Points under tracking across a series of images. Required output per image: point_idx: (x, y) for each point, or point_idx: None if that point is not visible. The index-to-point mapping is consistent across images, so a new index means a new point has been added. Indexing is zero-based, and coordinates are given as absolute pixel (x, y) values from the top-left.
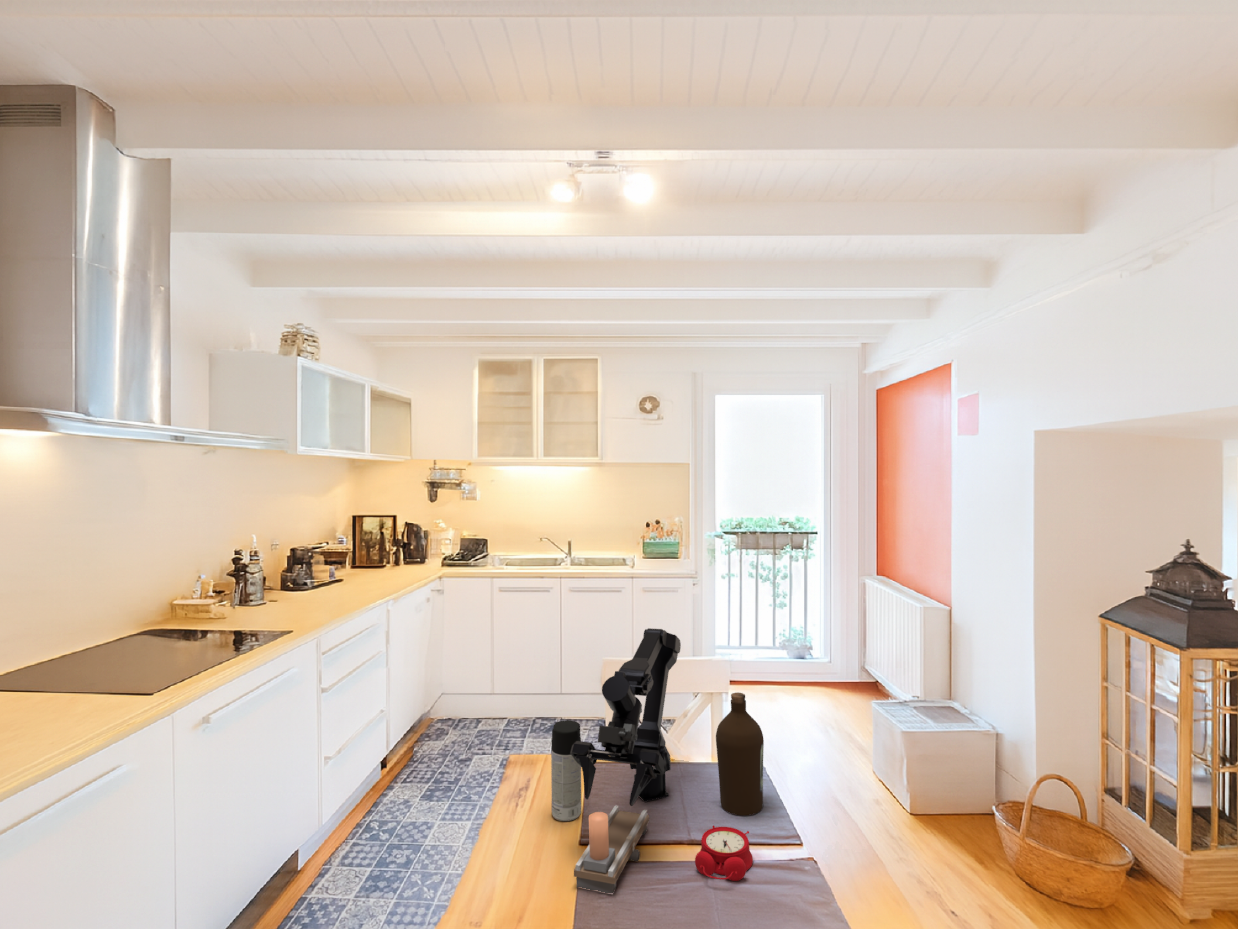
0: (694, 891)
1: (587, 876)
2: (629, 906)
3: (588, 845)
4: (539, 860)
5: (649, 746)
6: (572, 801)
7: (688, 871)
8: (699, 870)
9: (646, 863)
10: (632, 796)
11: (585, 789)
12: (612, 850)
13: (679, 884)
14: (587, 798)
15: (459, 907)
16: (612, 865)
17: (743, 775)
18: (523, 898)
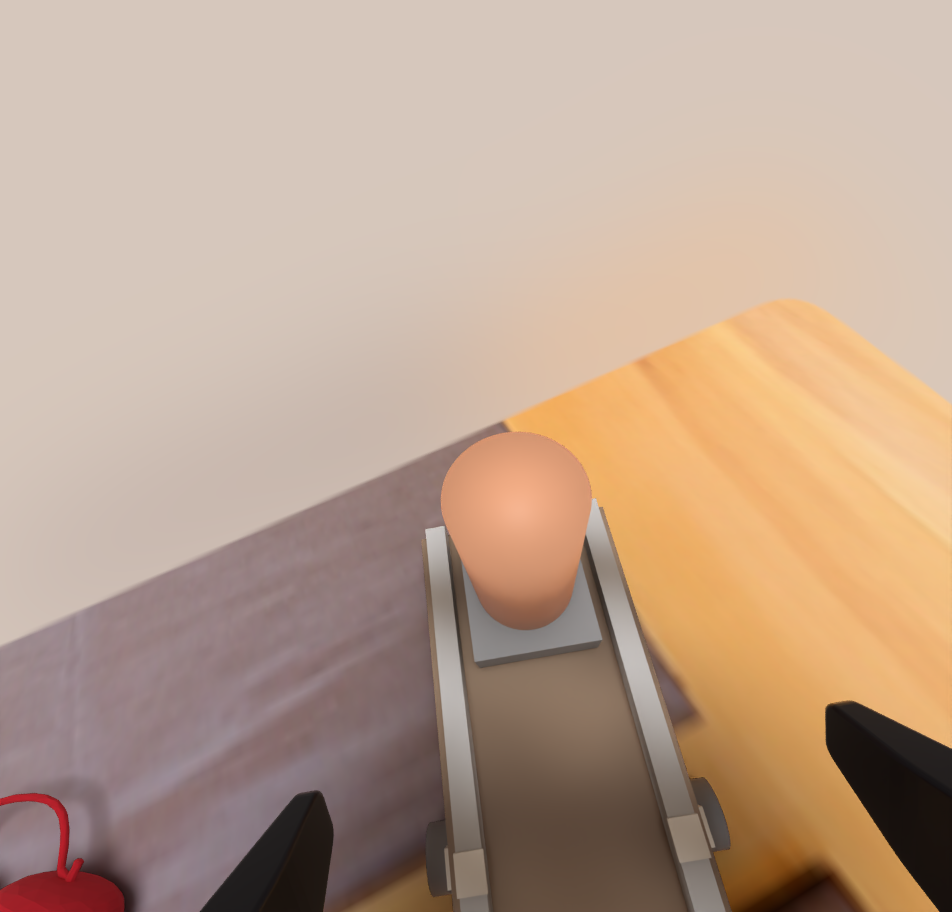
0: (150, 729)
1: None
2: (368, 538)
3: (647, 664)
4: (867, 621)
5: None
6: None
7: (178, 881)
8: (108, 883)
9: (393, 851)
10: (253, 858)
11: (938, 754)
12: (480, 642)
13: (213, 748)
14: (829, 733)
15: (833, 317)
16: (442, 565)
17: None
18: (706, 419)
